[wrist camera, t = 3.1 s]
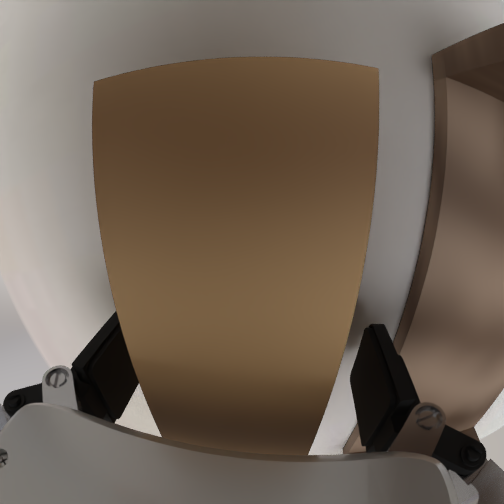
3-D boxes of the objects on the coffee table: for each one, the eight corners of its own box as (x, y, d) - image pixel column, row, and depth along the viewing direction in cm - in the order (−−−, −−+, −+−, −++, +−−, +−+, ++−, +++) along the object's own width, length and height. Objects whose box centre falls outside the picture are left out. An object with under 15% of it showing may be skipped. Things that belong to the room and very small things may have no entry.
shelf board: (190, 108, 9) (93, 81, 4) (325, 109, 9) (377, 68, 3) (213, 420, 16) (193, 495, 11) (288, 427, 16) (283, 505, 10)
